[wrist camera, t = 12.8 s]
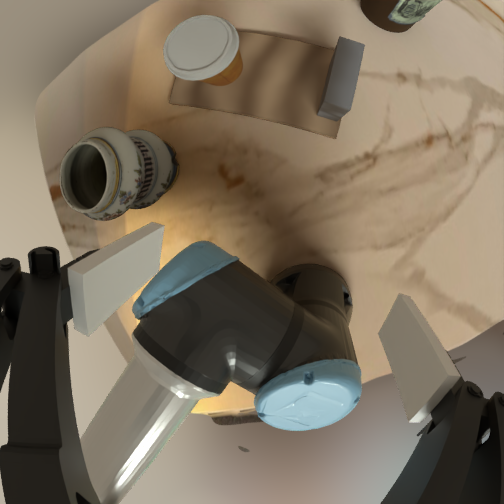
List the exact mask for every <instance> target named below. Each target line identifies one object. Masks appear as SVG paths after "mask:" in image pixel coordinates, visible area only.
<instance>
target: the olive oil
mask: <svg viewBox="0 0 504 504" xmlns="http://www.w3.org/2000/svg"><path fill="white" fill-rule="evenodd" d="M441 1H442V0H361V8H362V11H363V12H364V14H365V15H366V17H367V18H368V19H369V20H370V21H371V22H372V23H374V24H375V25H377V26H378V27H380V28H382V29H384V30H387V31H390V32H397V33H399V32H404V31H407V30H408V29H409V28H411V27H412V26H413V25H414V24H415V23H416V22H418V21H420V20H421V19H422V18H423V17H425V14H426V13H427V12H428V11H430V10H431V9H432V8H433V7H434V6H436V5H437V4H438V3H439V2H441Z"/></svg>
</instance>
